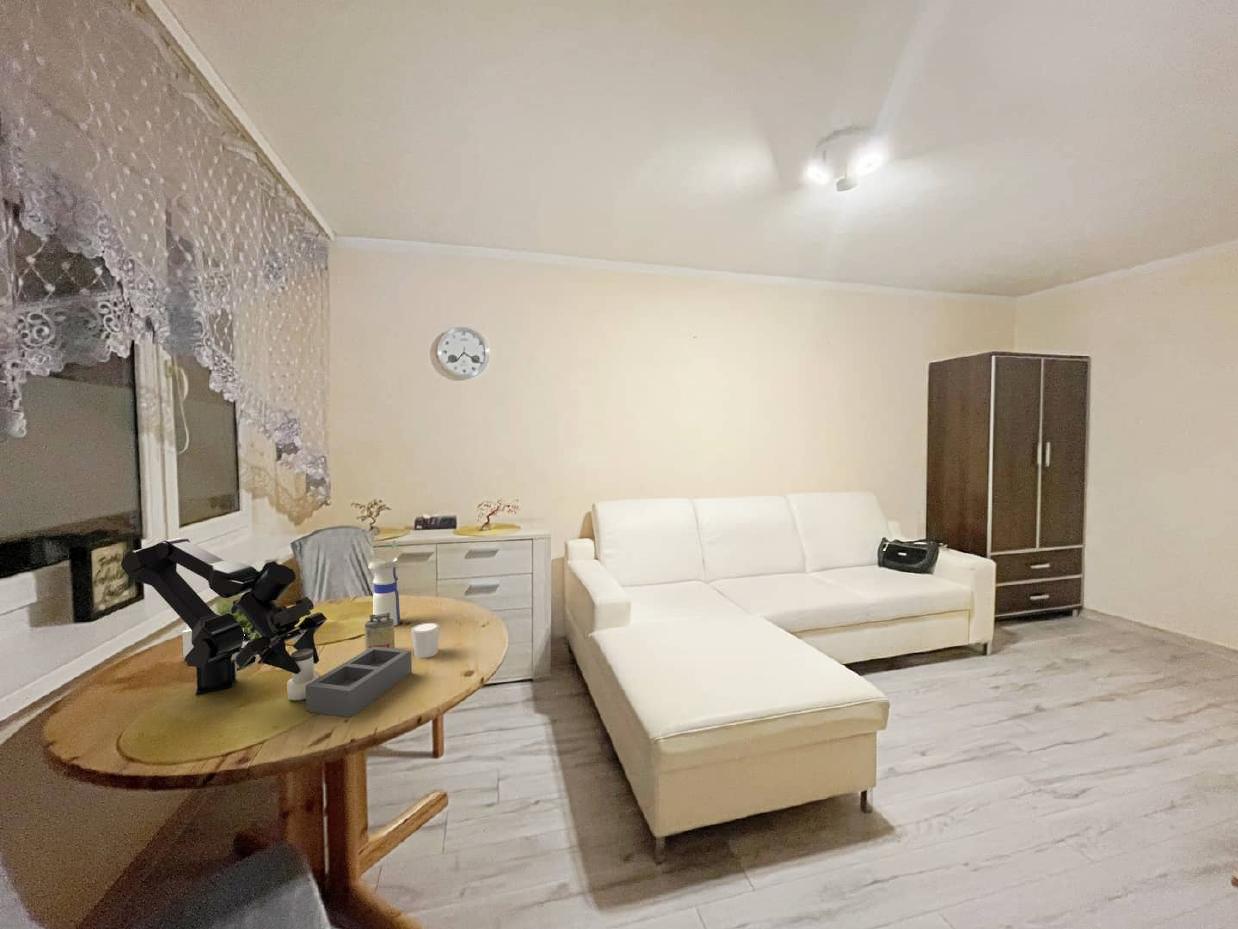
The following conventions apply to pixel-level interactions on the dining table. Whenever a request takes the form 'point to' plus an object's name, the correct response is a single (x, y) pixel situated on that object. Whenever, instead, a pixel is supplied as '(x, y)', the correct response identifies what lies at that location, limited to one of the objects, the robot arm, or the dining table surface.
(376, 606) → the white spray bottle
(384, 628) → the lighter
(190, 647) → the bracket
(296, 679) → the plug
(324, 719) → the dining table surface
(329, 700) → the compartment tray
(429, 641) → the shot glass
